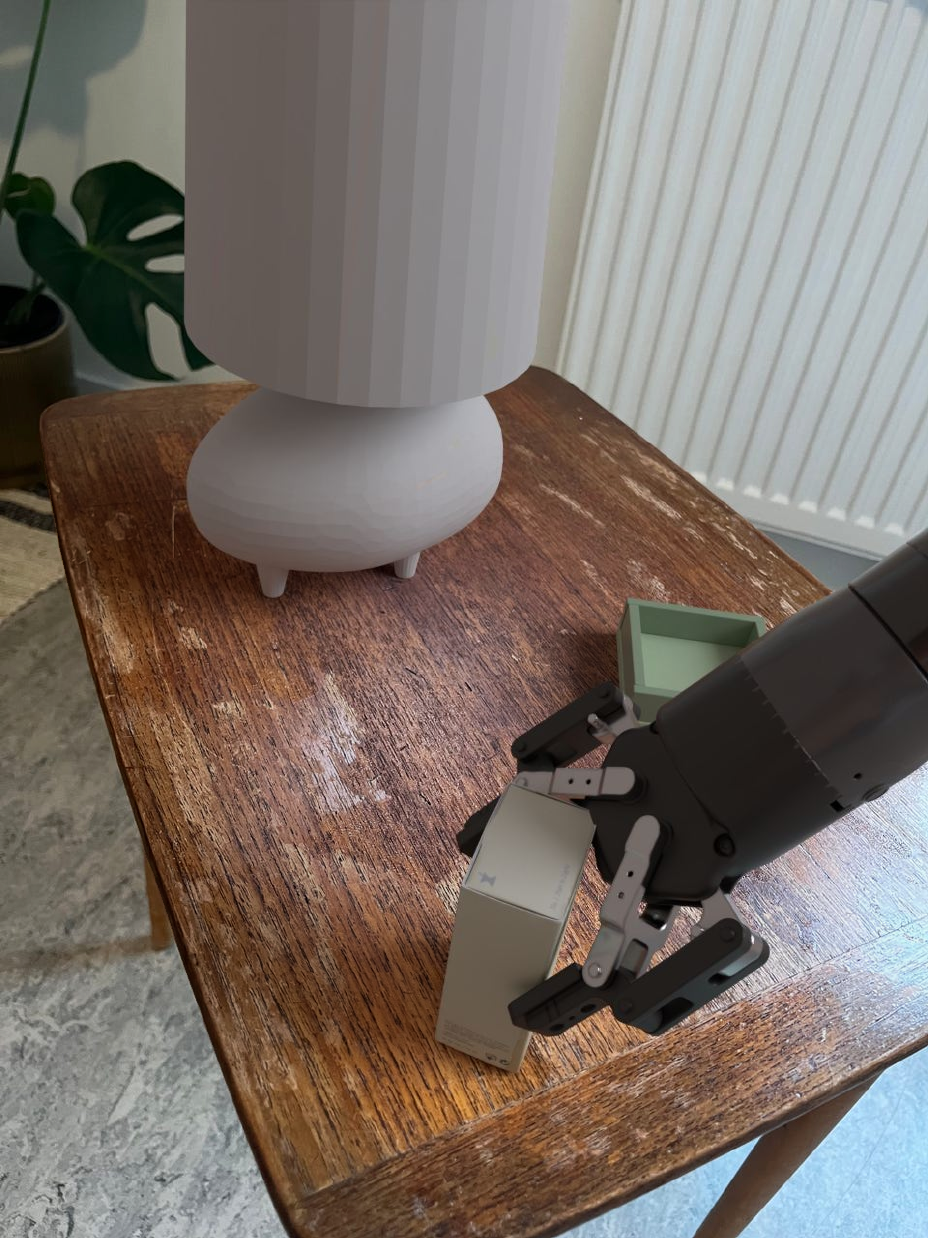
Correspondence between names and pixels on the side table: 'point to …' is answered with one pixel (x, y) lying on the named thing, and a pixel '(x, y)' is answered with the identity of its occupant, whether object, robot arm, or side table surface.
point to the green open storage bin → (675, 648)
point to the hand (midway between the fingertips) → (492, 930)
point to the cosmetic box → (511, 920)
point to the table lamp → (362, 264)
